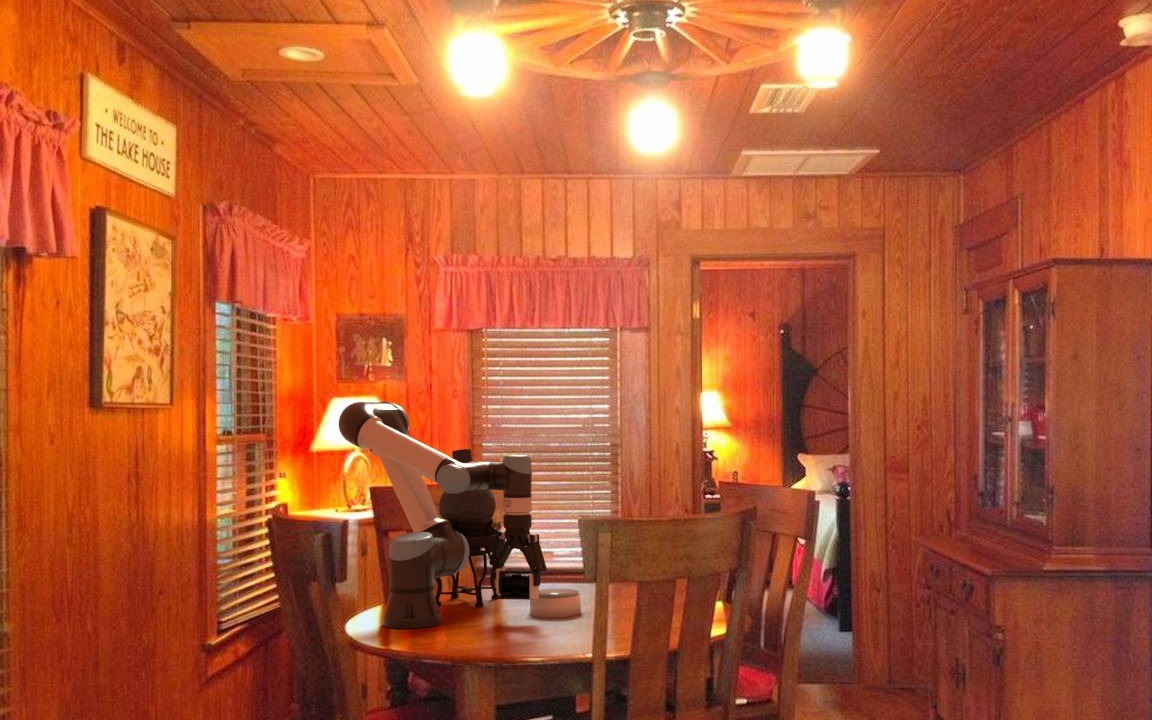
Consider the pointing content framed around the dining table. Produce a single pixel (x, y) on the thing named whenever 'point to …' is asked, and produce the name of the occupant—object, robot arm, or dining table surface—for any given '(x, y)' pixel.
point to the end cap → (514, 585)
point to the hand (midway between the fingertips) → (517, 595)
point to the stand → (556, 603)
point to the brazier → (471, 530)
